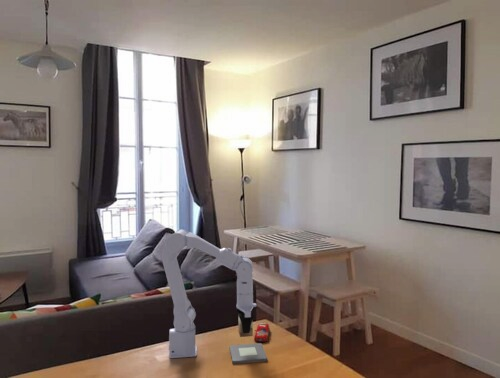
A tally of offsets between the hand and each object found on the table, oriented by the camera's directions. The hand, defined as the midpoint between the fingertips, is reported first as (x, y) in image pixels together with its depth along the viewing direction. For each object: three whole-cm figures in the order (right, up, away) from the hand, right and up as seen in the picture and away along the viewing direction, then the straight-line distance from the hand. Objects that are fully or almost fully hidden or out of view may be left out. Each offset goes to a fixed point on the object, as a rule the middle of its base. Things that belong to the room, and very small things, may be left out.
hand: (245, 330), depth 139 cm
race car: (+6, -8, +15) cm, 19 cm away
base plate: (+1, -9, -1) cm, 9 cm away
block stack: (0, -1, 0) cm, 1 cm away
